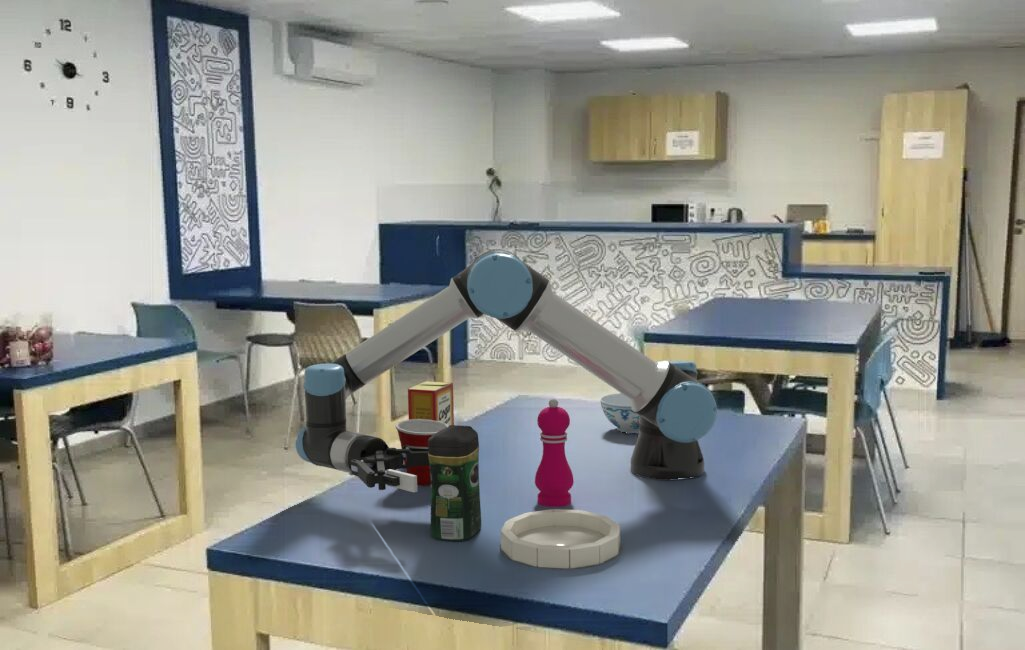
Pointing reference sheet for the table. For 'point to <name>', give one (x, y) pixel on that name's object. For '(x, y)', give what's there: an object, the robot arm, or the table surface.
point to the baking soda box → (431, 402)
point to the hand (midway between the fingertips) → (444, 474)
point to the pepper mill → (554, 458)
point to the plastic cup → (418, 442)
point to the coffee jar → (454, 483)
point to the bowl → (560, 538)
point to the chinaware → (620, 412)
